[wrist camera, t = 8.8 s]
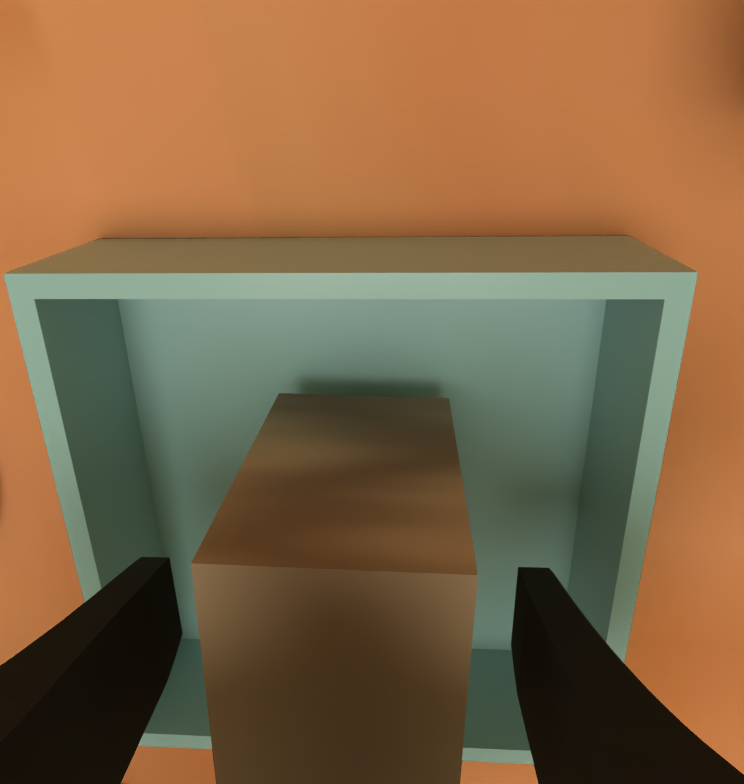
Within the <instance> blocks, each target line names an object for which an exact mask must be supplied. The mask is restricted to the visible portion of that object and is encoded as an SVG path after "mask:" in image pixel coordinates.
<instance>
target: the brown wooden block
mask: <svg viewBox="0 0 744 784" xmlns="http://www.w3.org/2000/svg"><path fill="white" fill-rule="evenodd" d="M191 569H192V577H193V586H194V595H195V603H196V612H197V621H198V629H199V638H200V647H201V656H202V664H203V673H204V682H205V690H206V699H207V708H208V716H209V725H210V734H211V743H212V751H213V760H214V769H215V777H216V784H460V777H461V765H462V754H463V742H464V731H465V719H466V708H467V696H468V685H469V673H470V662H471V650H472V639H473V627H474V616H475V604H476V593H477V582H478V572H477V566H476V560H475V554H474V548H473V541H472V535H471V529H470V523H469V517H468V511H467V505H466V499H465V493H464V487H463V481H462V474H461V468H460V462H459V456H458V450H457V444H456V438H455V432H454V426H453V420H452V414H451V407H450V401H449V398H431V397H396V396H361V395H327V394H292V393H279V394H278V396H277V398H276V400H275V402H274V404H273V406H272V407H271V409H270V411H269V413H268V415H267V417H266V419H265V421H264V423H263V425H262V427H261V429H260V431H259V433H258V435H257V436H256V438H255V440H254V442H253V444H252V446H251V448H250V450H249V452H248V454H247V456H246V458H245V460H244V462H243V464H242V466H241V467H240V469H239V471H238V473H237V475H236V477H235V479H234V481H233V483H232V485H231V487H230V489H229V491H228V493H227V495H226V496H225V498H224V500H223V502H222V504H221V506H220V508H219V510H218V512H217V514H216V516H215V518H214V520H213V522H212V524H211V525H210V527H209V529H208V531H207V533H206V535H205V537H204V539H203V541H202V543H201V545H200V547H199V549H198V551H197V553H196V555H195V556H194V558H193V560H192V562H191Z"/></svg>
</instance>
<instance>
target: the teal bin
mask: <svg viewBox="0 0 744 784" xmlns="http://www.w3.org/2000/svg"><path fill="white" fill-rule="evenodd" d="M697 275H698V272H697V271H695V270H693V269H691V268H689V267H687V266H685V265H683V264H681V263H680V262H678V261H676V260H674V259H672V258H670V257H668V256H666V255H664V254H662V253H661V252H659V251H657V250H655V249H653V248H651V247H649V246H647V245H645V244H643V243H642V242H640V241H638V240H636V239H634V238H632V237H630V236H476V237H302V238H127V239H97V240H94V241H91V242H88V243H86V244H83V245H80V246H77V247H75V248H72V249H69V250H67V251H64V252H61V253H58V254H56V255H53V256H50V257H48V258H45V259H42V260H39V261H37V262H34V263H31V264H28V265H26V266H23V267H20V268H18V269H15V270H12V271H9V272H7V273H4V278H5V282H6V286H7V290H8V294H9V298H10V303H11V307H12V311H13V315H14V319H15V323H16V327H17V331H18V335H19V339H20V343H21V347H22V351H23V355H24V359H25V363H26V367H27V371H28V375H29V379H30V383H31V387H32V391H33V395H34V400H35V404H36V408H37V412H38V416H39V420H40V424H41V428H42V432H43V436H44V440H45V444H46V448H47V452H48V456H49V460H50V464H51V468H52V472H53V476H54V480H55V484H56V488H57V492H58V497H59V501H60V505H61V509H62V513H63V517H64V521H65V525H66V529H67V533H68V537H69V541H70V545H71V549H72V553H73V557H74V561H75V565H76V569H77V573H78V577H79V581H80V585H81V590H82V594H83V598H84V602H86V601H87V600H88V599H90V598H91V597H92V596H93V595H95V594H96V593H97V592H98V591H99V590H101V589H102V588H103V587H104V586H106V585H107V584H108V583H109V582H110V581H112V580H113V579H114V578H115V577H116V576H118V575H119V574H120V573H121V572H123V571H124V570H125V569H126V568H127V567H129V566H130V565H131V564H132V563H134V562H135V561H136V560H138V559H139V558H140V557H169V558H170V563H171V569H172V574H173V580H174V586H175V592H176V597H177V603H178V609H179V615H180V620H181V626H182V632H183V634H182V637H181V640H180V644H179V647H178V650H177V654H176V657H175V660H174V663H173V666H172V669H171V672H170V675H169V678H168V681H167V683H166V685H165V688H164V690H163V692H162V694H161V697H160V699H159V701H158V703H157V705H156V708H155V710H154V712H153V714H152V716H151V719H150V721H149V723H148V725H147V727H146V729H145V732H144V734H143V736H142V738H141V740H140V742H139V744H138V746H151V747H173V748H194V749H212V743H211V734H210V725H209V716H208V708H207V699H206V690H205V682H204V673H203V664H202V656H201V647H200V638H199V629H198V621H197V612H196V603H195V595H194V586H193V577H192V569H191V562H192V560H193V558H194V556H195V555H196V553H197V551H198V549H199V547H200V545H201V543H202V541H203V539H204V537H205V535H206V533H207V531H208V529H209V527H210V525H211V524H212V522H213V520H214V518H215V516H216V514H217V512H218V510H219V508H220V506H221V504H222V502H223V500H224V498H225V496H226V495H227V493H228V491H229V489H230V487H231V485H232V483H233V481H234V479H235V477H236V475H237V473H238V471H239V469H240V467H241V466H242V464H243V462H244V460H245V458H246V456H247V454H248V452H249V450H250V448H251V446H252V444H253V442H254V440H255V438H256V436H257V435H258V433H259V431H260V429H261V427H262V425H263V423H264V421H265V419H266V417H267V415H268V413H269V411H270V409H271V407H272V406H273V404H274V402H275V400H276V398H277V396H278V394H279V393H292V394H327V395H361V396H396V397H431V398H449V401H450V407H451V414H452V420H453V426H454V432H455V438H456V444H457V450H458V456H459V462H460V468H461V474H462V481H463V487H464V493H465V499H466V505H467V511H468V517H469V523H470V529H471V535H472V541H473V548H474V554H475V560H476V566H477V572H478V582H477V593H476V604H475V616H474V627H473V639H472V650H471V662H470V673H469V685H468V696H467V708H466V719H465V731H464V742H463V754H462V761H475V762H496V763H518V764H534V763H533V758H532V754H531V750H530V746H529V742H528V738H527V734H526V730H525V725H524V721H523V717H522V713H521V709H520V704H519V700H518V696H517V690H516V682H515V674H514V666H513V658H512V650H511V638H512V627H513V616H514V606H515V595H516V584H517V573H518V567H540V568H550V569H551V570H552V572H553V573H554V574H555V575H556V577H557V578H558V580H559V581H560V583H561V584H562V585H563V587H564V588H565V590H566V591H567V592H568V594H569V595H570V597H571V598H572V599H573V601H574V602H575V603H576V605H577V606H578V607H579V609H580V610H581V611H582V613H583V614H584V615H585V617H586V618H587V619H588V620H589V622H590V623H591V624H592V626H593V627H594V628H595V629H596V631H597V632H598V633H599V634H600V635H601V637H602V638H603V639H604V640H605V641H606V643H607V644H608V645H609V646H610V648H611V649H612V650H613V651H614V652H615V653H616V655H617V656H618V657H619V658H620V659H621V660H622V662H623V663H624V662H625V656H626V651H627V646H628V641H629V635H630V630H631V625H632V619H633V614H634V609H635V603H636V598H637V593H638V588H639V582H640V577H641V572H642V566H643V561H644V556H645V550H646V545H647V540H648V535H649V529H650V524H651V519H652V513H653V508H654V503H655V497H656V492H657V487H658V482H659V476H660V471H661V466H662V460H663V455H664V450H665V445H666V439H667V434H668V429H669V423H670V418H671V413H672V407H673V402H674V397H675V392H676V386H677V381H678V376H679V370H680V365H681V360H682V354H683V349H684V344H685V339H686V333H687V328H688V323H689V317H690V312H691V307H692V301H693V296H694V291H695V286H696V280H697Z"/></svg>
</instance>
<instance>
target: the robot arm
mask: <svg viewBox="0 0 744 784" xmlns="http://www.w3.org/2000/svg"><path fill="white" fill-rule="evenodd" d="M182 634H183V632H182V626H181V620H180V615H179V609H178V603H177V597H176V592H175V586H174V580H173V574H172V569H171V563H170V558H169V557H140V558H139V559H138V560H136V561H135V562H134V563H132V564H131V565H130V566H129V567H127V568H126V569H125V570H124V571H123V572H121V573H120V574H119V575H118V576H116V577H115V578H114V579H113V580H112V581H110V582H109V583H108V584H107V585H106V586H104V587H103V588H102V589H101V590H99V591H98V592H97V593H96V594H95V595H93V596H92V597H91V598H90V599H88V600H87V601H86V602H85V603H83V604H82V605H81V606H80V607H78V608H77V609H76V610H75V611H73V612H72V613H71V614H70V615H69V616H67V617H66V618H65V619H64V620H62V621H61V622H60V623H58V624H57V625H56V626H54V627H53V628H52V629H50V630H49V631H48V632H46V633H45V634H44V635H42V636H41V637H39V638H38V639H37V640H35V641H34V642H33V643H31V644H30V645H29V646H27V647H26V648H25V649H23V650H22V651H21V652H19V653H18V654H17V655H15V656H14V657H12V658H11V659H9V660H8V661H7V662H5V663H4V664H2V665H1V666H0V784H120V783H121V781H122V779H123V777H124V775H125V772H126V770H127V768H128V766H129V764H130V762H131V759H132V757H133V755H134V753H135V751H136V749H137V747H138V744H139V742H140V740H141V738H142V736H143V734H144V732H145V729H146V727H147V725H148V723H149V721H150V719H151V716H152V714H153V712H154V710H155V708H156V705H157V703H158V701H159V699H160V697H161V694H162V692H163V690H164V688H165V685H166V683H167V681H168V678H169V675H170V672H171V669H172V666H173V663H174V660H175V657H176V654H177V650H178V647H179V644H180V640H181V637H182ZM511 650H512V658H513V666H514V674H515V682H516V690H517V696H518V700H519V704H520V709H521V713H522V717H523V721H524V725H525V730H526V734H527V738H528V742H529V746H530V750H531V754H532V758H533V763H534V767H535V771H536V775H537V779H538V783H539V784H744V775H743V774H742V773H741V772H740V771H738V770H737V769H736V768H735V767H734V766H732V765H731V764H730V763H729V762H727V761H726V760H725V759H724V758H723V757H721V756H720V755H719V754H718V753H716V752H715V751H714V750H713V749H712V748H710V747H709V746H708V745H707V744H705V743H704V742H703V741H702V740H701V739H700V738H698V737H697V736H696V735H695V734H694V733H693V732H692V731H690V730H689V729H688V728H687V727H686V726H685V725H684V724H683V723H682V722H681V721H680V720H679V719H678V718H676V717H675V716H674V715H673V714H672V713H671V712H670V711H669V710H668V709H667V708H666V707H665V706H664V705H663V704H662V703H661V702H660V701H659V700H658V699H657V698H656V697H655V696H654V695H653V694H652V693H651V692H650V691H649V690H648V689H647V688H646V687H645V686H644V685H643V684H642V682H641V681H640V680H639V679H638V678H637V677H636V676H635V675H634V674H633V673H632V672H631V670H630V669H629V668H628V667H627V666H626V665H625V664H624V663H623V662H622V660H621V659H620V658H619V657H618V656H617V655H616V653H615V652H614V651H613V650H612V649H611V648H610V646H609V645H608V644H607V643H606V641H605V640H604V639H603V638H602V637H601V635H600V634H599V633H598V632H597V631H596V629H595V628H594V627H593V626H592V624H591V623H590V622H589V620H588V619H587V618H586V617H585V615H584V614H583V613H582V611H581V610H580V609H579V607H578V606H577V605H576V603H575V602H574V601H573V599H572V598H571V597H570V595H569V594H568V592H567V591H566V590H565V588H564V587H563V585H562V584H561V583H560V581H559V580H558V578H557V577H556V575H555V574H554V573H553V572H552V570H551V569H550V568H540V567H518V573H517V584H516V595H515V606H514V616H513V627H512V638H511Z"/></svg>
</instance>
